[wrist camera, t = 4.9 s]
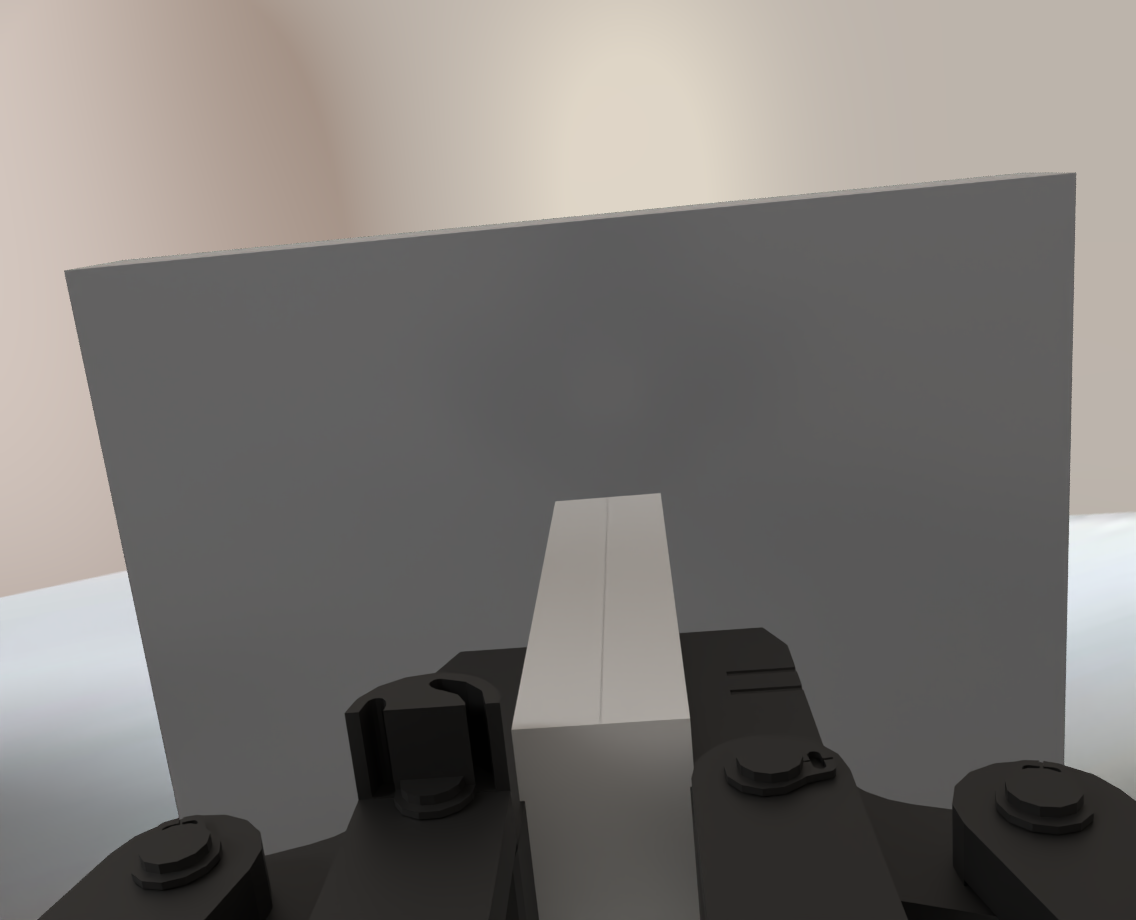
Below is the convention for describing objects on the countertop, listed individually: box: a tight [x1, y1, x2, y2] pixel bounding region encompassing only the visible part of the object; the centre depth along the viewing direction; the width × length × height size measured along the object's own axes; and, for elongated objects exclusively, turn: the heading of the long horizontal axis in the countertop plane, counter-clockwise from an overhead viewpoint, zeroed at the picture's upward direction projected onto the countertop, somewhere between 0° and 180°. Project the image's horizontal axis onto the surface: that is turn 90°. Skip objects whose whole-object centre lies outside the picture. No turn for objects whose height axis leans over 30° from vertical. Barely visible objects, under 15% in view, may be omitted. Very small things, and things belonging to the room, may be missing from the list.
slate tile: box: [64, 173, 1076, 856], centre depth 20 cm, size 16×2×14 cm, turn 88°
